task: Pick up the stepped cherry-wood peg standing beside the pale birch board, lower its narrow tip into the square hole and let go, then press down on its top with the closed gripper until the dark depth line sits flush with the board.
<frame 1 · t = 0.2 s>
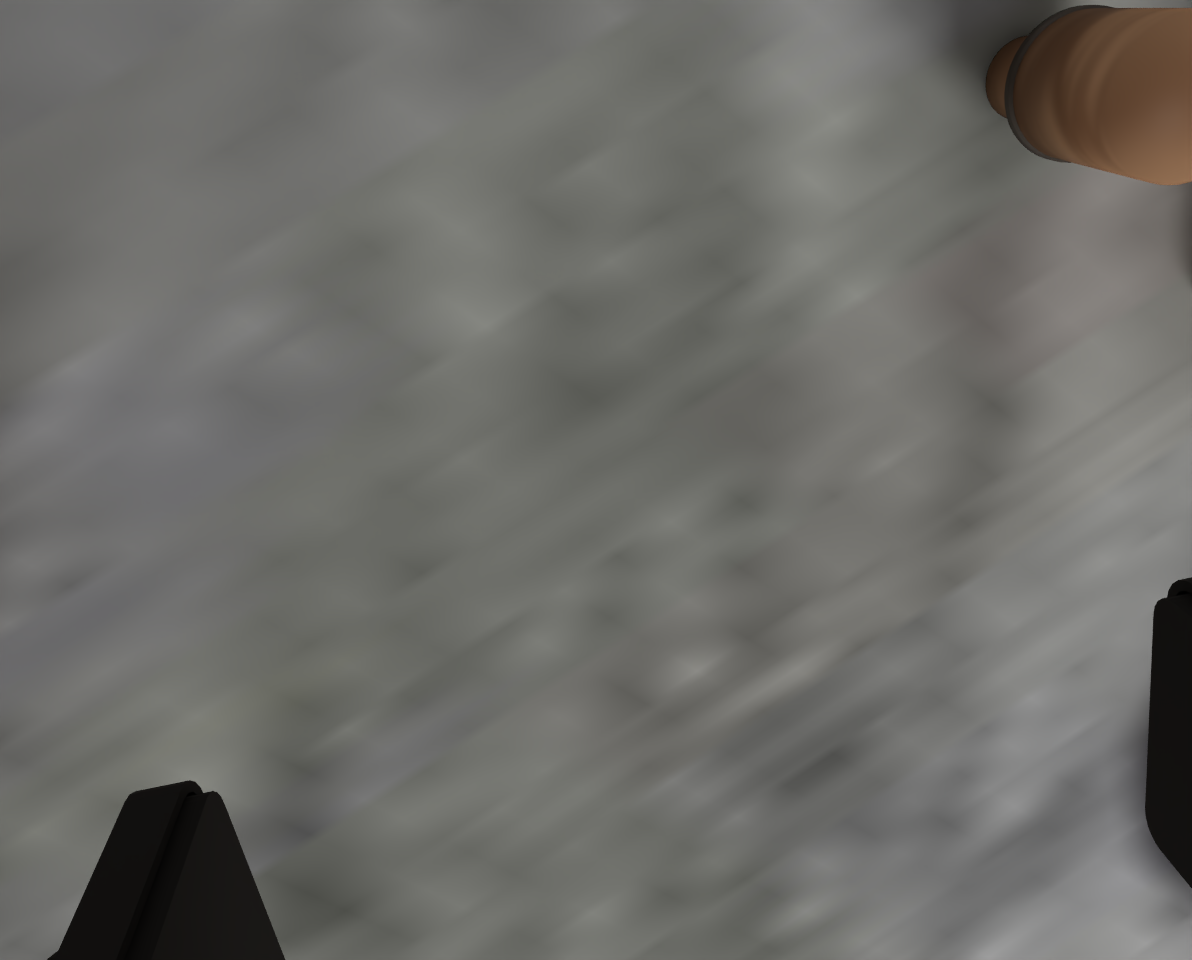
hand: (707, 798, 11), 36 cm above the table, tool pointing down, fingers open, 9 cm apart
peg: (1024, 78, 44), on the table
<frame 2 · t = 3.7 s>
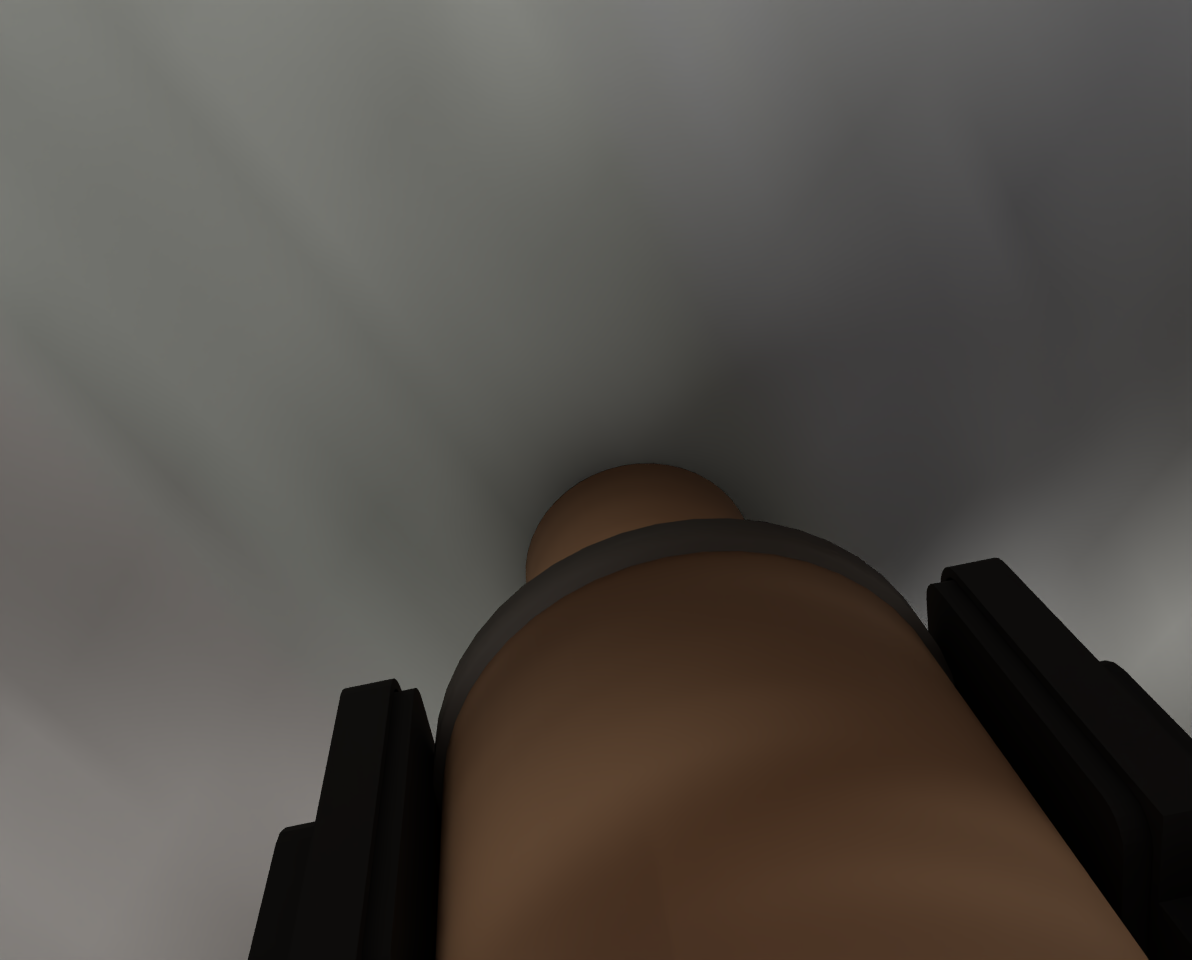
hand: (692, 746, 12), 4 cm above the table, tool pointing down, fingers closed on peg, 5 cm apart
peg: (640, 569, 15), on the table, touching gripper
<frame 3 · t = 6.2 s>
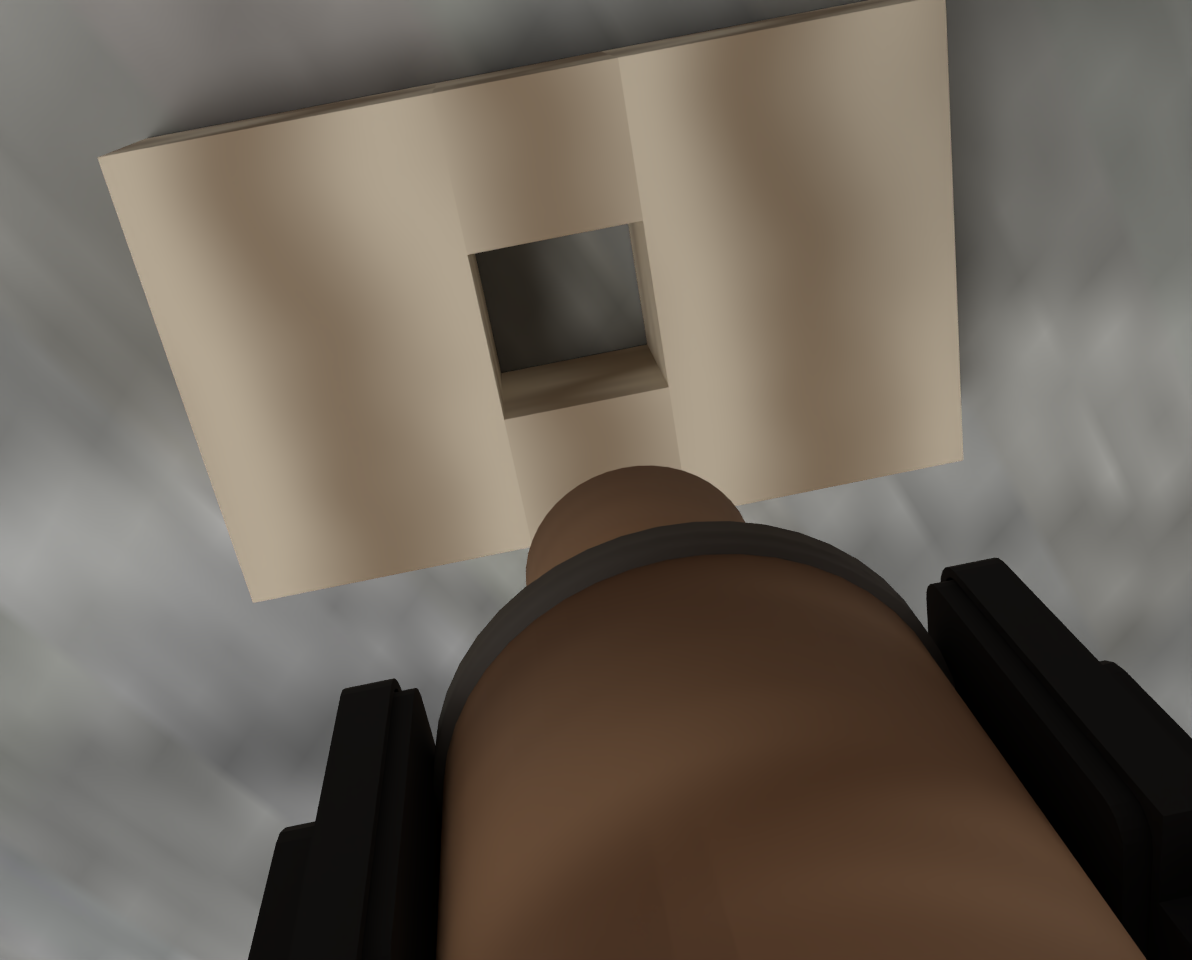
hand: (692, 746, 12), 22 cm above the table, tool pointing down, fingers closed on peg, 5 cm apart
peg: (640, 571, 15), point 18 cm above the table, touching gripper
board: (560, 286, 31), on the table
when the fingers open (6 cm above the table, at t = 8.7 s): peg drops 2 cm, resting on board.
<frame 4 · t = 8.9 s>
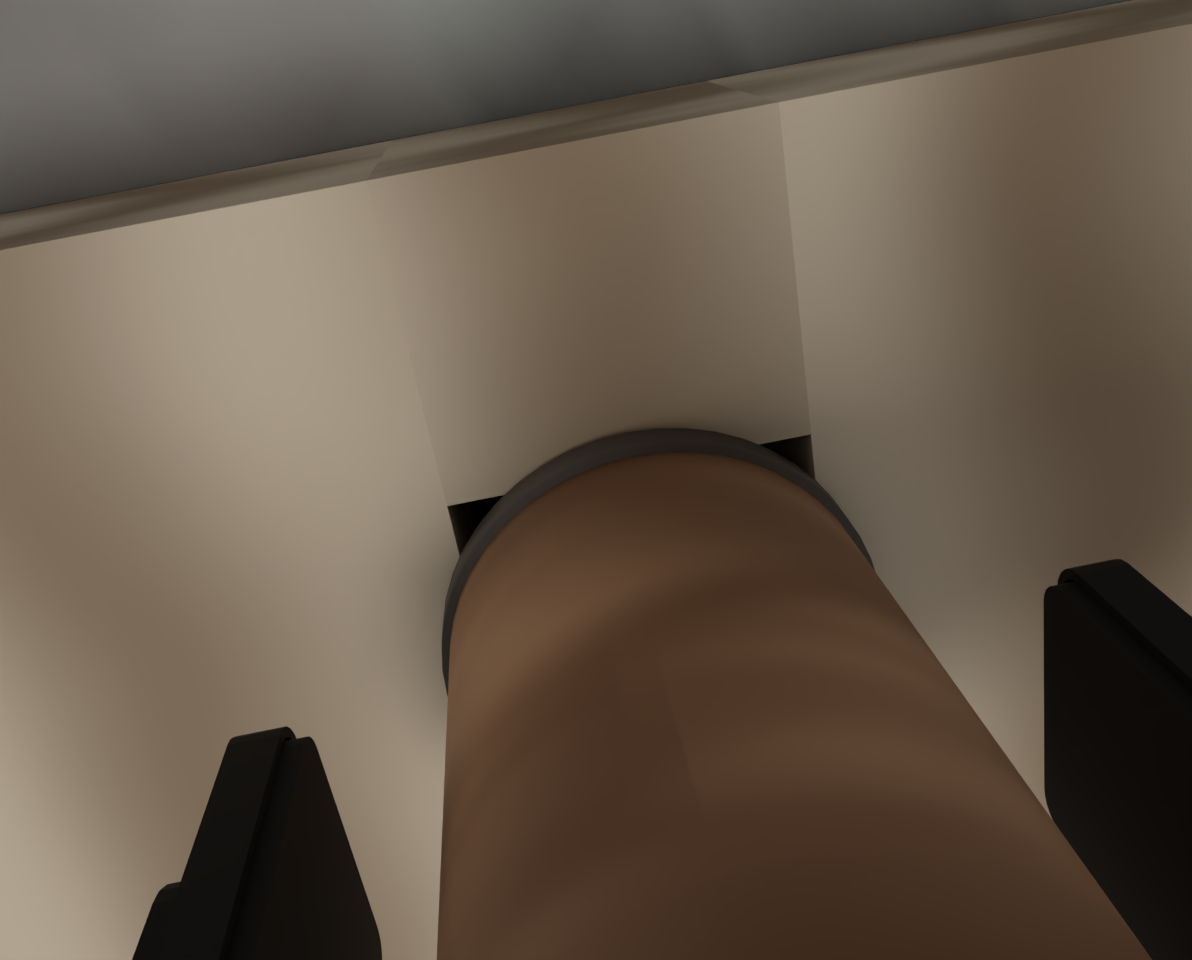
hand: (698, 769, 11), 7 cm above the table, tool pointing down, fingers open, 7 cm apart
peg: (620, 497, 17), resting on board
board: (619, 498, 17), on the table
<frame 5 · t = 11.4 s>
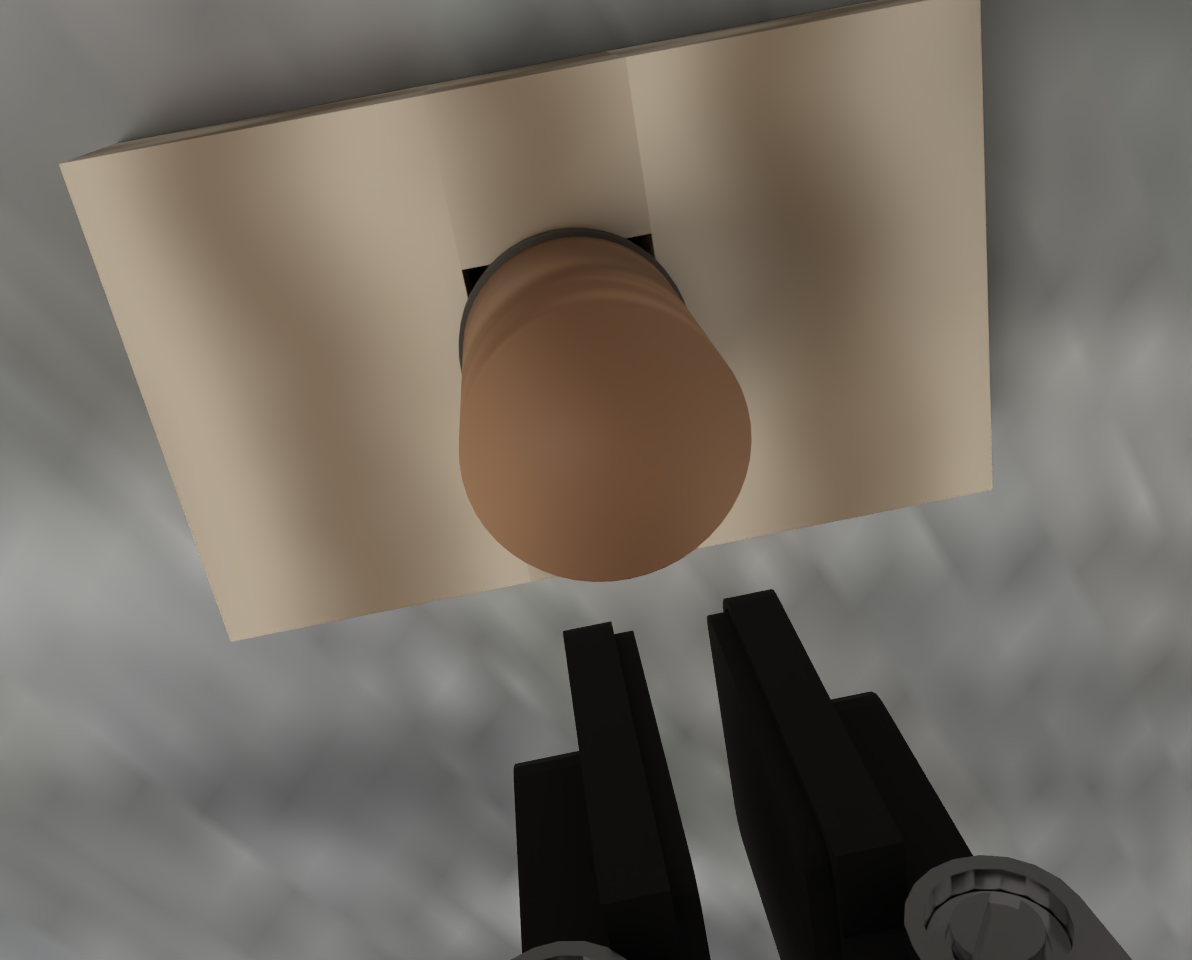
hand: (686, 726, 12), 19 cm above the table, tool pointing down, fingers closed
peg: (562, 301, 29), resting on board
board: (561, 302, 29), on the table
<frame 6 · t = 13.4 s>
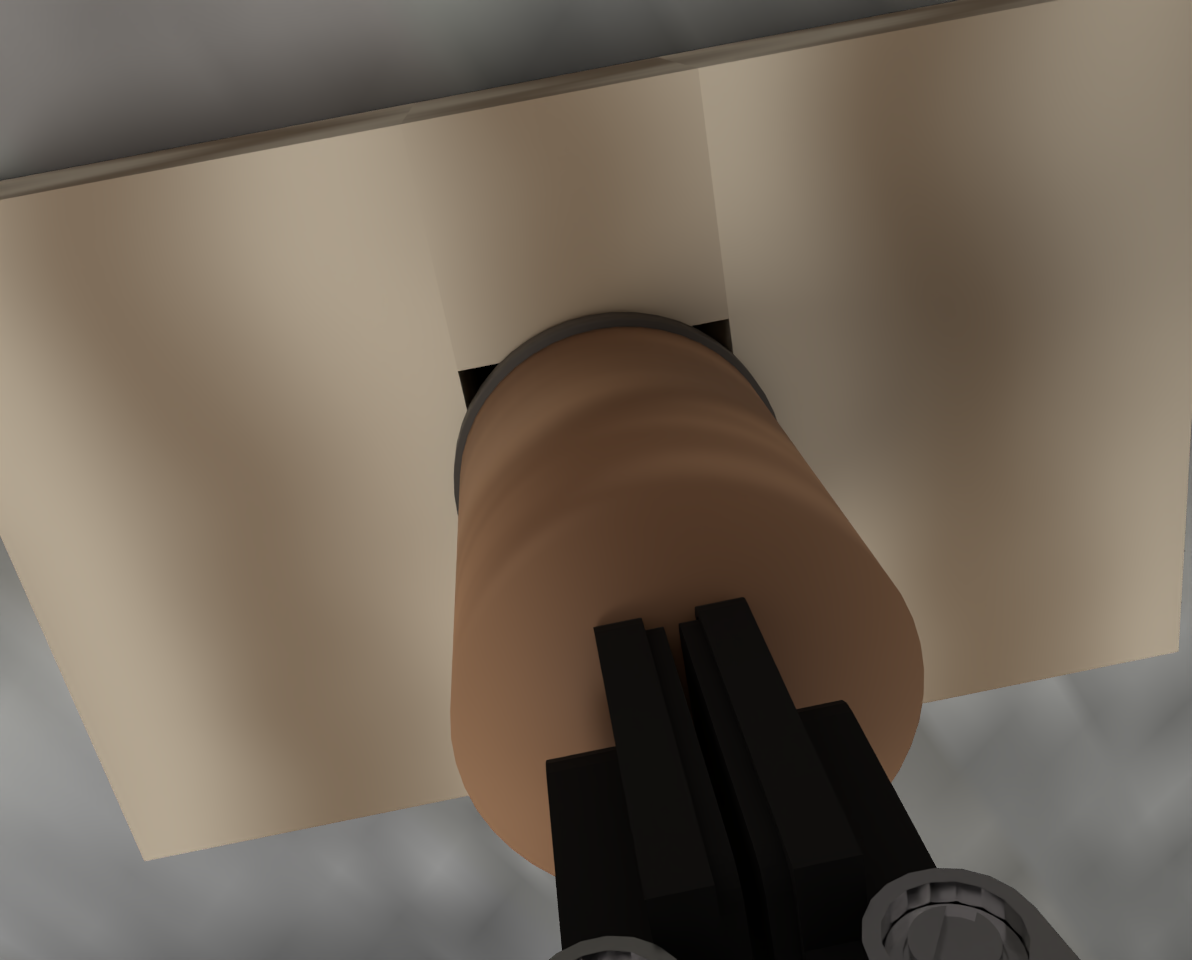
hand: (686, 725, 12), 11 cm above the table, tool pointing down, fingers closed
peg: (594, 391, 22), resting on board, touching gripper
board: (593, 392, 22), on the table
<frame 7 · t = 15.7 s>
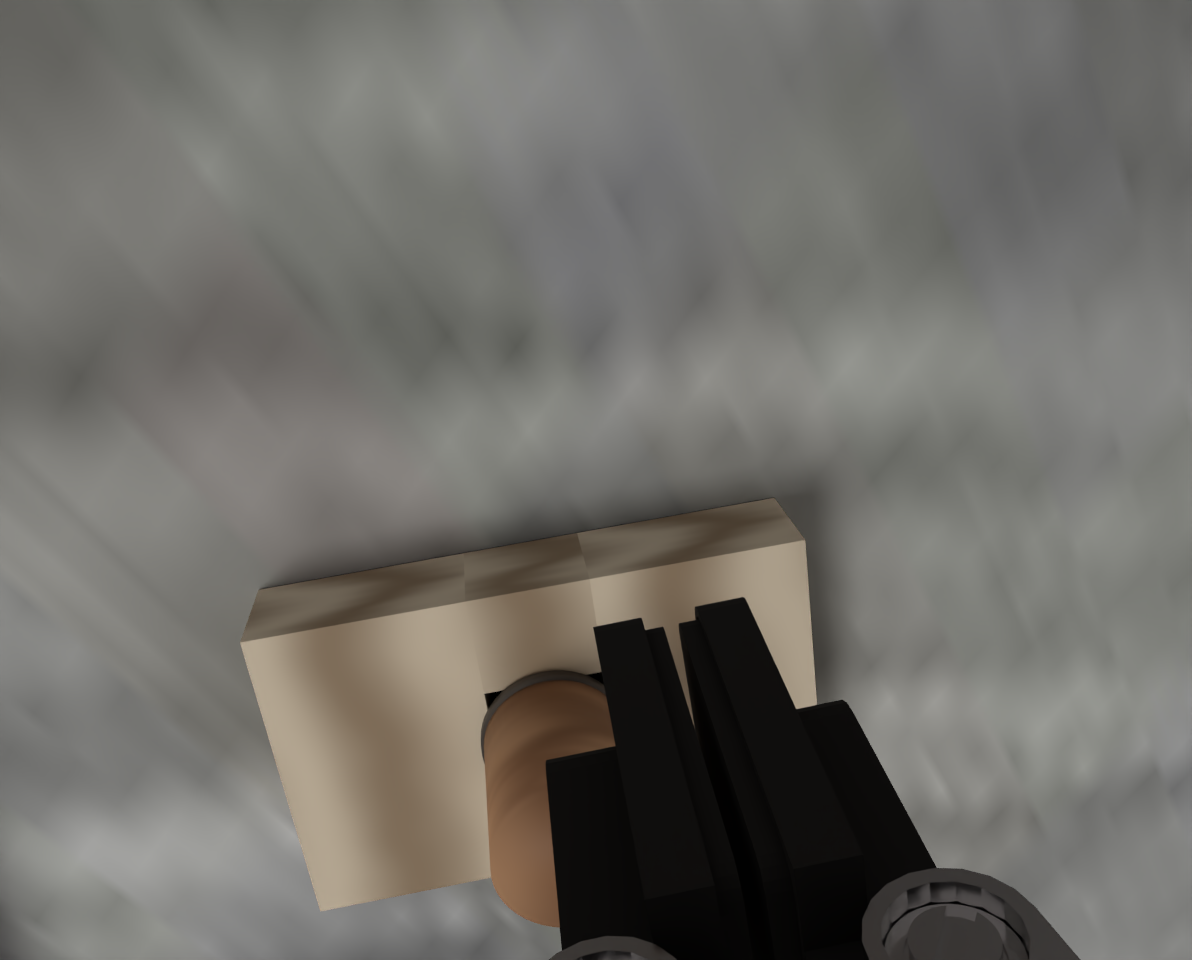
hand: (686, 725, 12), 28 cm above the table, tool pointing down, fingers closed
peg: (544, 675, 44), resting on board
board: (544, 676, 44), on the table
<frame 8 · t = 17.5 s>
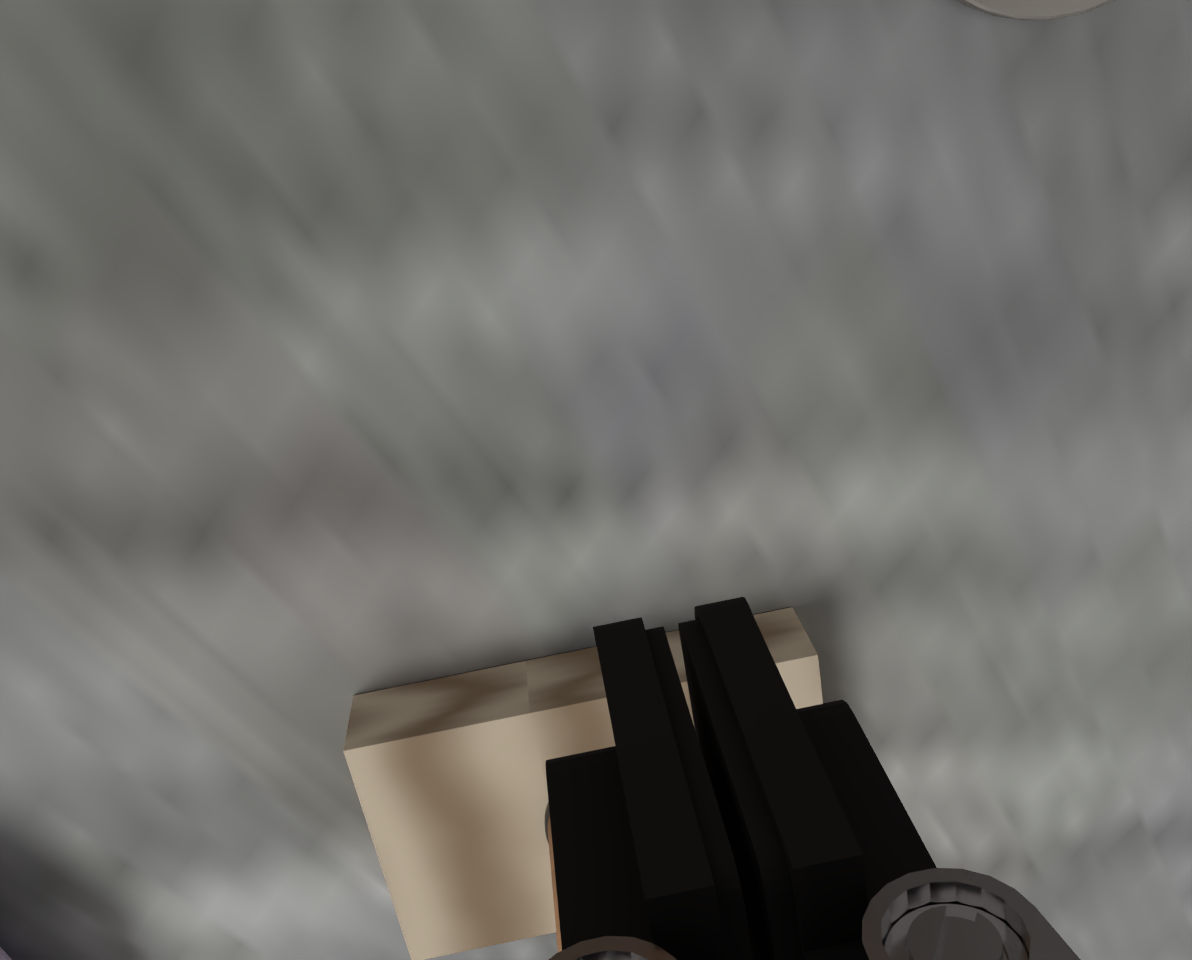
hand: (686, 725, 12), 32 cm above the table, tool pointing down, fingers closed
peg: (597, 757, 51), resting on board
board: (596, 758, 51), on the table
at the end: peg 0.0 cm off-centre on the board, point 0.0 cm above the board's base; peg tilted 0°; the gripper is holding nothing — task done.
